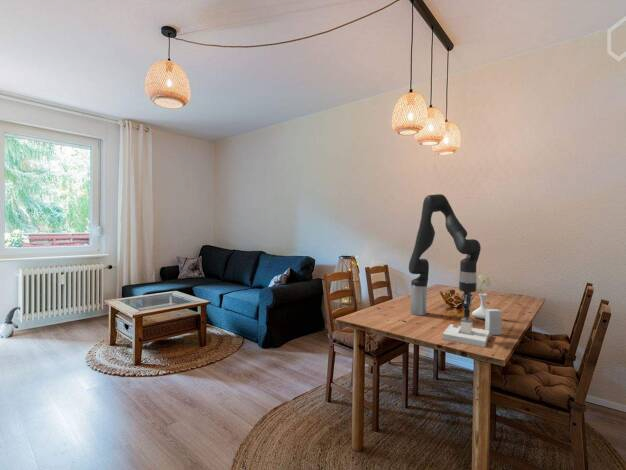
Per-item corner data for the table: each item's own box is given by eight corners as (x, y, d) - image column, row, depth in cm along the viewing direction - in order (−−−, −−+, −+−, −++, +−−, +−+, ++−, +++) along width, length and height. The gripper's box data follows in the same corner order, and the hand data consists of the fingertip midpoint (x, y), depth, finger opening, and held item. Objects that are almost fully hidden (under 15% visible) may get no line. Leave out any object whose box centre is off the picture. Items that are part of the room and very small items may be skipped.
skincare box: (496, 332, 169) (496, 308, 168) (501, 335, 164) (502, 311, 164) (484, 332, 168) (485, 308, 168) (489, 335, 164) (489, 311, 164)
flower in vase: (496, 321, 187) (498, 277, 186) (474, 319, 190) (476, 276, 189) (489, 314, 200) (490, 273, 199) (468, 313, 202) (470, 272, 201)
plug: (461, 334, 163) (462, 316, 163) (472, 335, 161) (472, 318, 160) (460, 336, 160) (460, 318, 159) (470, 338, 157) (471, 320, 157)
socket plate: (450, 329, 173) (450, 323, 172) (489, 335, 163) (489, 329, 163) (442, 339, 158) (442, 332, 157) (484, 347, 148) (485, 340, 148)
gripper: (461, 278, 167) (460, 312, 167) (456, 282, 156) (455, 318, 156) (478, 279, 162) (477, 315, 163) (474, 283, 151) (473, 321, 152)
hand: (466, 316), depth 160 cm, fingers closed
